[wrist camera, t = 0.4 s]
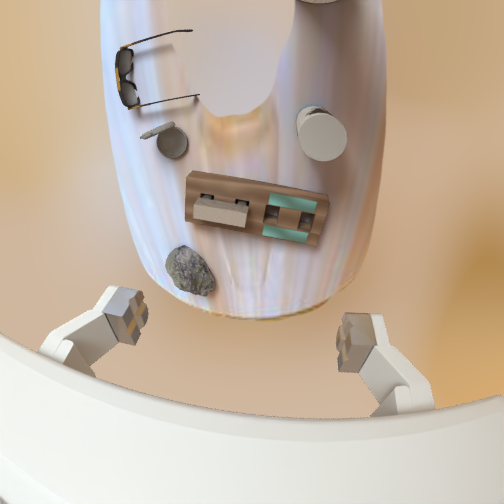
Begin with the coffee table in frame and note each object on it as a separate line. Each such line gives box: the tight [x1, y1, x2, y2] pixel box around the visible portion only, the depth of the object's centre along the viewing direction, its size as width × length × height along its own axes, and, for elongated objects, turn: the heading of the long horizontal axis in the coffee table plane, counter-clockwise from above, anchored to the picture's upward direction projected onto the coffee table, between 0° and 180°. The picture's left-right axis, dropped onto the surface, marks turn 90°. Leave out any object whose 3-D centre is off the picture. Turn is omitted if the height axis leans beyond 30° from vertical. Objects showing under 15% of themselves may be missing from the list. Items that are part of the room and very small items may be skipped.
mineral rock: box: [165, 245, 215, 296], centre depth 66 cm, size 13×11×10 cm
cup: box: [296, 105, 347, 161], centre depth 40 cm, size 7×7×15 cm
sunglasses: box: [115, 30, 200, 110], centre depth 41 cm, size 14×15×5 cm
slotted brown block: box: [185, 171, 330, 246], centre depth 56 cm, size 10×28×4 cm, turn 82°
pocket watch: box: [140, 121, 187, 158], centre depth 47 cm, size 8×8×10 cm
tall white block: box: [193, 194, 249, 228], centre depth 55 cm, size 3×10×8 cm, turn 82°
